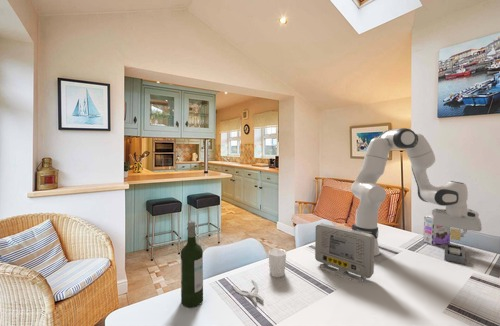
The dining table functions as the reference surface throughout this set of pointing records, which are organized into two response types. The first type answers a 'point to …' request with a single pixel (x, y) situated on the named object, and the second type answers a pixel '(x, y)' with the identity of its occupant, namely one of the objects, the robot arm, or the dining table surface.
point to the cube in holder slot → (455, 251)
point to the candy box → (434, 232)
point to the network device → (345, 251)
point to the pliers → (252, 295)
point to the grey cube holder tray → (454, 258)
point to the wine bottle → (191, 270)
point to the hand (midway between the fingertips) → (455, 235)
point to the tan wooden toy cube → (455, 234)
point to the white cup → (277, 262)
